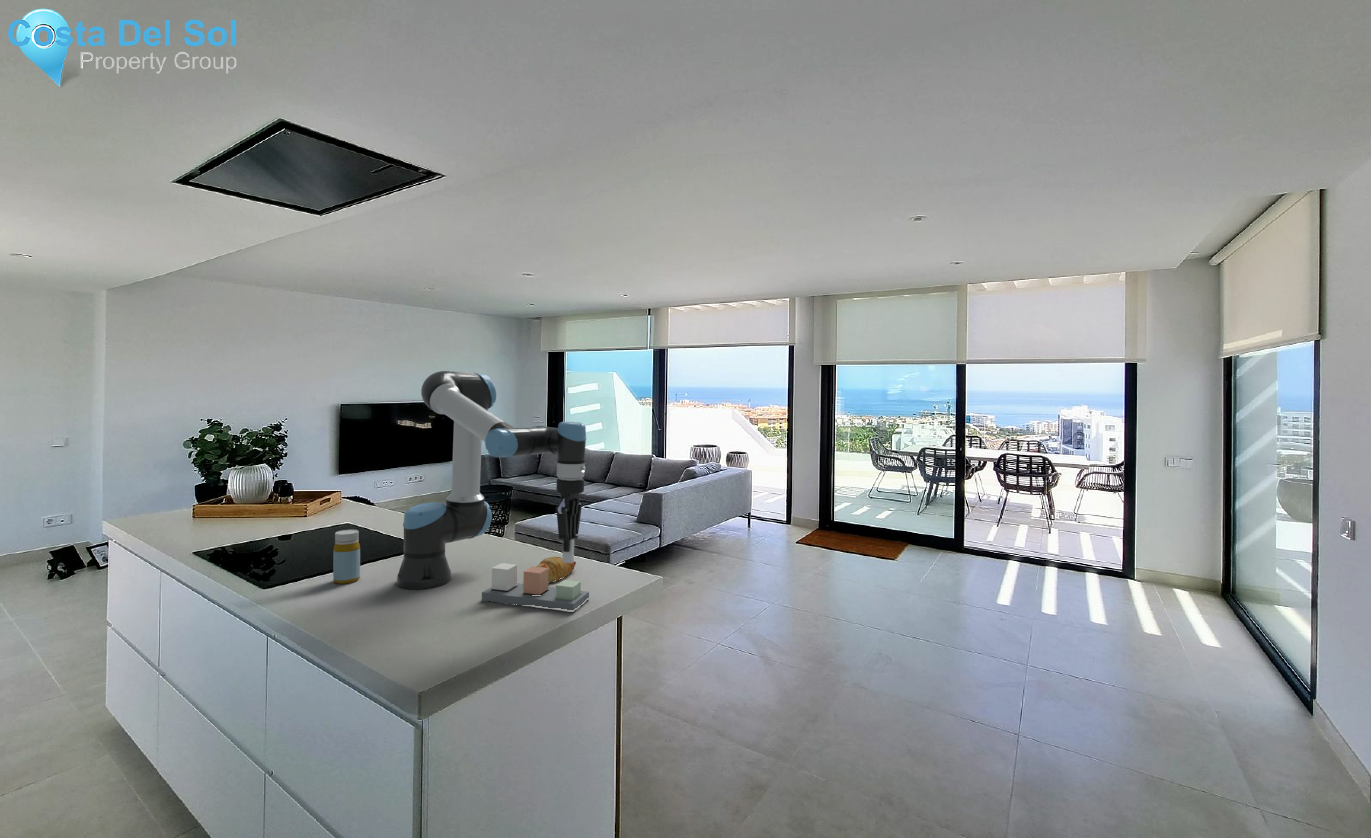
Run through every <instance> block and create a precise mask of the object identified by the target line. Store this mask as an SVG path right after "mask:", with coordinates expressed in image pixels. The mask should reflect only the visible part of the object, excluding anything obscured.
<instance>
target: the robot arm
mask: <svg viewBox="0 0 1371 838" xmlns="http://www.w3.org/2000/svg"><path fill="white" fill-rule="evenodd" d="M495 385H496V384H495V383H494V381H492V378H491V377H489V376H488V375H486V374H485V373H480V372H475V371H473V372H472V371H449V370H442V371H436V372H434V373H431V374H430V375H429V376H427V377H426V379H425V380H424V381H423V383H422V385H421V390H420V392H421V394H420V395H421V399H422V401H423V402H424V403H425V405H426V406H427V408H428V409H430V410H431V411H433V412H434V413H436V414H439V415H445V416H447V417H448V418H450V419H451V420H453V438H452V439H453V442H452V471H451V473H452V474H451V492H450V493H449V494H448V496H446V498H445V503H444V502H440V501H438V502H436V501H434V502H424V503H421V504H416V505H414V506H411V507H409V508H408V509H406V511H405V513H404V516H403V522H402V523H403V524H402V527H403V559H402V561H401V565H400V567H399V570H398V573H397V575H396V585H397V586H398V587H400V588H403V589H408V590H409V589H410V590H422V589H425V590H426V589H431V588H435V587H439V586H443V585H445V584H448V583H449V582H450V581H451V580H452V570H451V569H450V566H449V565H450V564H449V563H448V559H447V556H446V544H449V543H453V542H458V541H463V540H469V539H474V538H476V537H480V536H483V534H485V533H486V532H487V531H488V529H489V527H490V525H491V522H492V517H493V516H492V509H490V504H489V503H488V502H487V501H485V496H484V495H483V494H482V493H481V467H482V465H481V464H482V441H483V442H484V444H485V445H484V446H485V449H486V450H487V451H488V455H490V456H491V457H493V458H503V459H504V458H510V457H520V456H521V457H522V456H531V455H543V454H545V455H546V454H547V455H554V456H555V455H556V456H557V460H556V462H557V464H556V477H557V479H556V485H555V486H556V489H555V490H556V492H557V493H559V494H560V500H559V503H560V504H559V505H558V506H556V505H555V508H554V509H555V513H556V521H557V531H558V532H557V533H558V540H562V556H561V558H562V562H564V563H573V562H575V559H574V557H575V556H574V555H575V539H578V538H579V531H580V530H579V529H580V523H581V515H582V509H583V505H584V499H581V498H580V494H582V493H584V491H585V479H584V477H585V471H587V470H586V469H587V467H585V466H586V465H585V464H586V443H587V433H586V431H587V430H586V425H585V424H584V423H583V422H580V421H579V422H576V421H561V422H559V423H558V424H557V425H558V426H557V427H549V426H546V425H534V426H532V427H514V426H512V425H511V424H508V423H507V422H506V421H504V420H502V419H501V418H499V417H498V416H496V415H495V414H493V413H491V412H490V411H489V409H491V408H492V407H494V405H495V403H496V402H497V391H496V386H495Z"/></svg>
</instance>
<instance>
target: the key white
mask: <svg viewBox="0 0 1371 838" xmlns="http://www.w3.org/2000/svg"><path fill="white" fill-rule="evenodd" d="M517 583H518V564H512V563H504V562H501V563H499V564H497V565H495V566H493V567H491V587H492V589H497V590H505V591H508V590H510V589H511V588H513V587H515V586H516V585H517Z"/></svg>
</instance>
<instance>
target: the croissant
mask: <svg viewBox="0 0 1371 838" xmlns="http://www.w3.org/2000/svg"><path fill="white" fill-rule="evenodd" d="M576 564H577V563H576V561H574V562H573V563H564V562H562V556H561V557H560V556H550V557H547V558H544V559H542V560H541V561H540V562H539V564H537V565H536V566H535V567H542V568H549V571H548V582H551V583H553V582H552V581H555V580H556V581H557V580H558V581H560V580H559V579H560V578H563V577H565V576H566V577H567V576H568V575H569V574H570V573H572V572H573V571H574V569H575V567H576ZM566 577H565V578H566ZM563 579H564V578H563ZM558 581H557V582H558Z"/></svg>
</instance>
